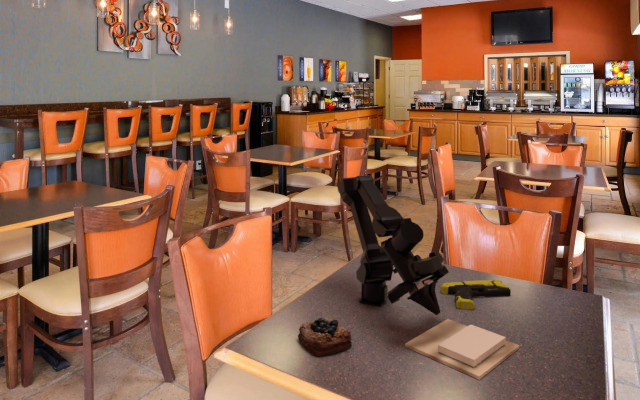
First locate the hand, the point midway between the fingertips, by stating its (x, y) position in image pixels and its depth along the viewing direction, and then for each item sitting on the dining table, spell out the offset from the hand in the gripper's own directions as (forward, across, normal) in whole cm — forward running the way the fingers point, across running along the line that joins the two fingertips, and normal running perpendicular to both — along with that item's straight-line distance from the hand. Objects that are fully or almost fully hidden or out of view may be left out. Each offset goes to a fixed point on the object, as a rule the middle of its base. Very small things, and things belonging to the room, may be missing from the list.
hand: (438, 314), depth 120 cm
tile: (+6, 0, -1) cm, 6 cm away
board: (+9, 0, -1) cm, 9 cm away
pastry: (-8, -21, +17) cm, 28 cm away
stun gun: (+2, +28, +8) cm, 29 cm away
